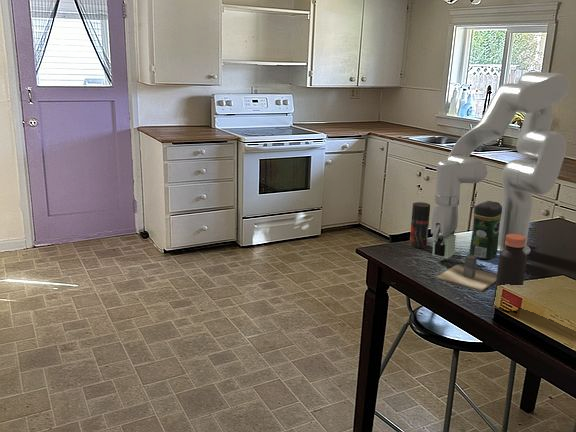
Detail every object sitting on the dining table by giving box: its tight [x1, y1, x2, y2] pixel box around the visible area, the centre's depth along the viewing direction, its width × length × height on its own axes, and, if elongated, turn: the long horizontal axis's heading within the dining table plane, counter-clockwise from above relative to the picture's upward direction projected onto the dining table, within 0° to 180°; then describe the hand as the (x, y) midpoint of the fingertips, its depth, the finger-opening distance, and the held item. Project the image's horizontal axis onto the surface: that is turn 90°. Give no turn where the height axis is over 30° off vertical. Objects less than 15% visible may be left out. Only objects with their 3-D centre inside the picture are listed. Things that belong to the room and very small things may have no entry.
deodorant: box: [409, 201, 431, 249], centre depth 195 cm, size 6×6×15 cm
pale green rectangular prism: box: [431, 233, 457, 260], centre depth 181 cm, size 5×5×7 cm
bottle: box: [492, 234, 528, 306], centre depth 148 cm, size 7×7×20 cm
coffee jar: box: [468, 200, 502, 260], centre depth 186 cm, size 10×8×19 cm
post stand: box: [436, 254, 497, 292], centre depth 168 cm, size 14×14×7 cm
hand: (443, 252), depth 182 cm, fingers closed on pale green rectangular prism, 5 cm apart
